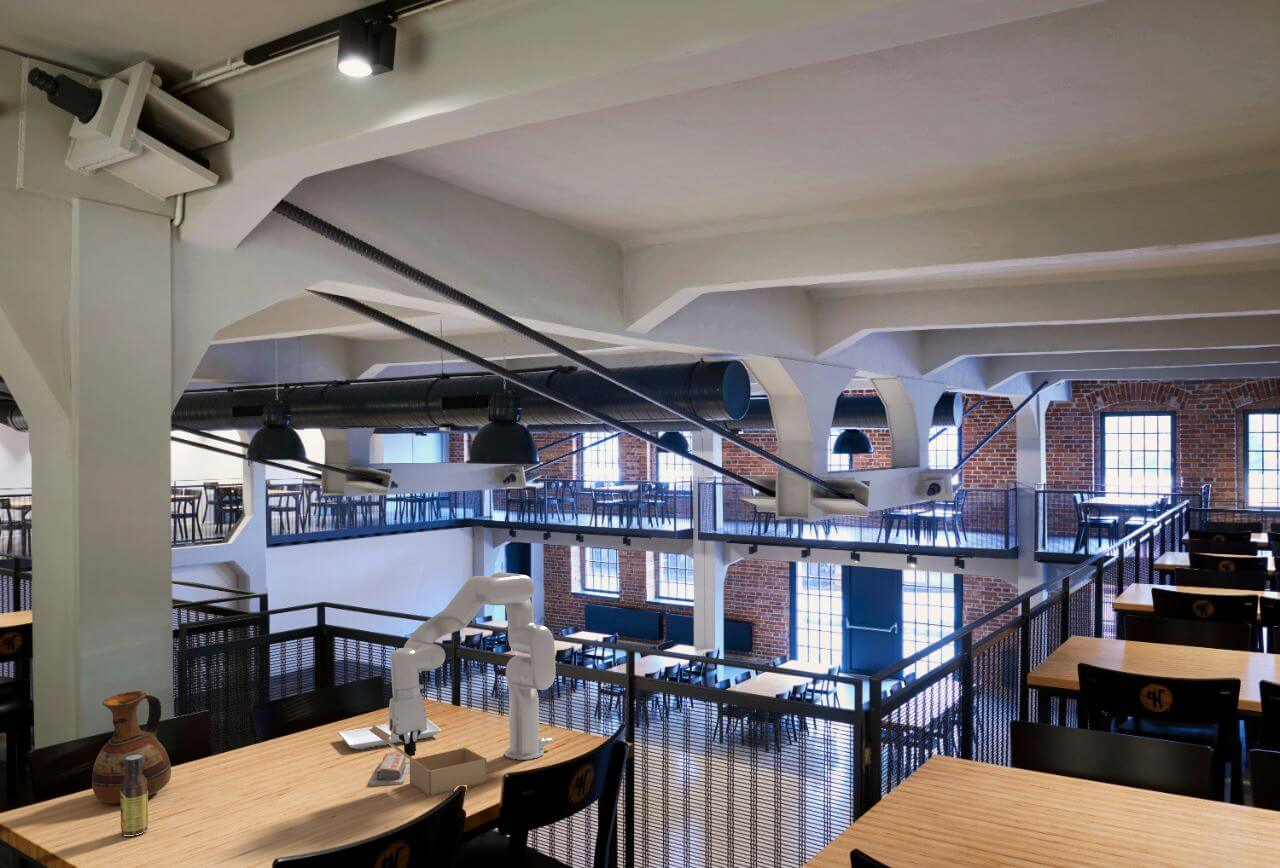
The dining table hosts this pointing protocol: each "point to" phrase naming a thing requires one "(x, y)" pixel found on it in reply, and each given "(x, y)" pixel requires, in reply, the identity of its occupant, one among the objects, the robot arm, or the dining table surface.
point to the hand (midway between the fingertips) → (410, 754)
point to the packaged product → (391, 770)
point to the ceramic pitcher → (130, 747)
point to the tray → (367, 739)
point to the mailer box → (448, 771)
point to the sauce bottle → (134, 798)
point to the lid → (385, 737)
